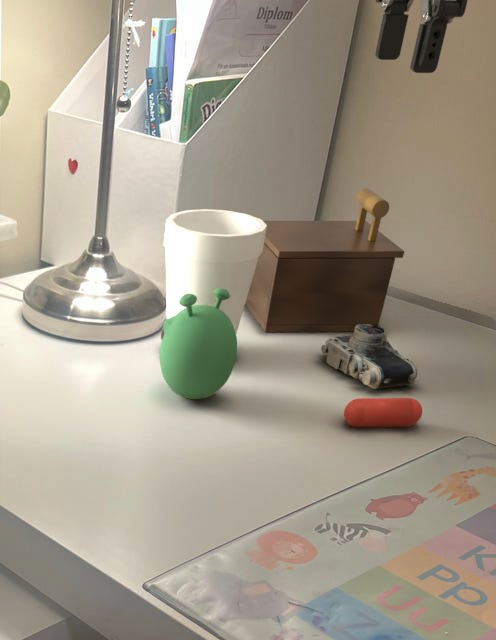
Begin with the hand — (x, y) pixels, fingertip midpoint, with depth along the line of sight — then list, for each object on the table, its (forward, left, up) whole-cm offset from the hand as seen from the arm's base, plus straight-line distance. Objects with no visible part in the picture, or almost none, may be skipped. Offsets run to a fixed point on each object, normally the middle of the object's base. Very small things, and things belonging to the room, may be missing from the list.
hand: (403, 65), depth 92 cm
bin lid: (+2, -5, -17) cm, 18 cm away
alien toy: (+21, +17, -26) cm, 37 cm away
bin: (+3, -5, -25) cm, 26 cm away
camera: (+2, +12, -26) cm, 28 cm away
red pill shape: (+5, +24, -25) cm, 35 cm away
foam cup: (+18, +7, -26) cm, 32 cm away
